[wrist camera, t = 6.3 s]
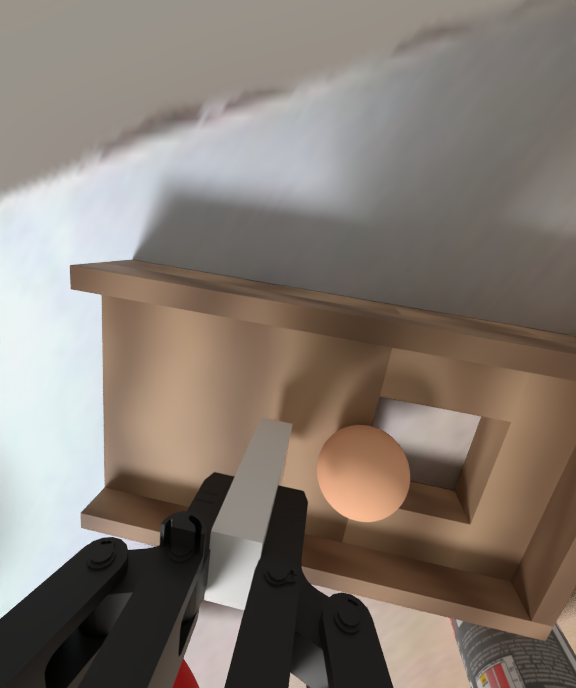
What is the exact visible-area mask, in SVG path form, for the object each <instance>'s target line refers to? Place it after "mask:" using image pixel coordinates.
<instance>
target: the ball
mask: <svg viewBox="0 0 576 688" xmlns="http://www.w3.org/2000/svg"><path fill="white" fill-rule="evenodd" d="M317 478H318V482H319V486H320V489H321V491H322V493H323V495H324V497H325V499H326V500H327V501H328V503H329V504H330V505H331V506H332V507H333V508H334V509H335V510H336V511H337V512H338V513H340V514H342V515H343V516H345V517H347V518H349V519H352V520H355V521H360V522H374V521H379V520H382V519H384V518H386V517H388V516H390V515H391V514H393V513H394V512H395V511H396V510H397V509H398V508H399V507H400V506H401V505H402V503H403V502H404V500H405V498H406V496H407V493H408V490H409V485H410V469H409V464H408V461H407V458H406V456H405V453H404V452H403V450H402V448H401V447H400V445H399V444H398V443H397V442H396V441H395V440H394V439H393V438H392V437H391V436H390V435H389V434H387V433H386V432H384V431H382V430H380V429H378V428H375V427H372V426H368V425H352V426H348V427H345V428H343V429H340V430H339V431H337V432H335V433H334V434H333V435H332V436H331V437H330V438H329V439H328V440H327V441H326V442H325V444H324V445H323V447H322V449H321V451H320V454H319V457H318V462H317Z"/></svg>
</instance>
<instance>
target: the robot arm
mask: <svg viewBox="0 0 576 688" xmlns="http://www.w3.org/2000/svg"><path fill="white" fill-rule="evenodd" d="M291 429H292V424H291V423H286V422H281V421H276V420H271V419H267V418H262V417H261V418H260V420H259V423H258V425H257V427H256V429H255V432H254V434H253V436H252V439H251V441H250V443H249V445H248V448H247V450H246V452H245V455H244V457H243V459H242V461H241V464H240V466H239V468H238V471H237V473H236V475H235V476H230V475H226V474H221V473H217V472H214V473H212V474H211V475H210V476H209V477H207V478H206V479H205V480H204V481H203V483H202V485H201V487H200V488H199V491H198V492H197V494H196V496H195V497H194V500H193V501H192V503H191V505H190V506H189V508H188V510H187V511H181V512H177V513H174V514H172V515H170V516H168V517H167V518H166V519H165V520H164V521H163V522H162V523H161V525H160V545H158V546H156V547H153V548H147V549H135V550H128V549H127V545H126V544H125V543H124V542H123V541H122V540H121V539H118V538H114V537H108V538H101V539H98V540H95V541H93V542H91V543H90V544H88V545H87V546H85V547H84V548H83V549H82V550H80V551H79V552H78V553H77V554H76V555H75V556H73V557H72V558H71V559H70V560H69V561H67V562H66V563H65V564H64V565H63V566H62V567H60V568H59V569H58V570H57V571H56V572H55V573H53V574H52V575H51V576H50V577H49V578H48V579H46V580H45V581H44V582H43V583H42V584H41V585H39V586H38V587H37V588H36V589H35V590H34V591H32V592H31V593H30V594H29V595H28V596H27V597H25V598H24V599H23V600H22V601H21V602H19V603H18V604H17V605H16V606H15V607H14V608H12V609H11V610H10V611H9V612H8V613H7V614H5V615H4V616H3V617H2V618H1V619H0V688H172V687H173V685H174V682H175V679H176V677H177V674H178V671H179V668H180V666H181V663H182V660H183V658H184V655H185V652H186V649H187V647H188V644H189V641H190V639H191V636H192V633H193V630H194V628H195V625H196V622H197V619H198V613H199V605H200V603H201V600H202V597H203V595H204V592H205V597H204V600H206V601H210V602H214V603H218V604H222V605H225V606H229V607H233V608H237V609H241V610H244V613H243V617H242V621H241V625H240V629H239V633H238V637H237V641H236V645H235V649H234V652H233V656H232V660H231V664H230V668H229V672H228V676H227V680H226V684H225V687H224V688H288V687H289V678H290V672H291V673H292V674H293V675H295V676H296V677H297V678H299V679H300V680H301V681H303V682H304V683H305V684H306V687H307V688H393V685H392V681H391V678H390V675H389V672H388V668H387V665H386V662H385V658H384V655H383V652H382V649H381V645H380V642H379V639H378V636H377V632H376V629H375V626H374V622H373V619H372V617H371V615H370V613H369V610H368V608H367V607H366V606H365V605H364V604H363V603H362V602H361V601H360V600H359V599H358V598H356V597H354V596H353V595H351V594H346V593H337V594H333V595H332V596H330V597H328V596H326V595H325V594H323V593H322V592H320V591H318V590H317V589H316V588H314V587H313V586H312V585H311V584H310V583H309V582H308V580H307V579H306V577H305V575H304V573H303V570H302V561H301V560H302V552H303V543H304V534H305V526H306V517H307V508H308V500H307V498H306V495H305V492H304V491H302V490H298V489H293V488H289V487H284V486H281V484H282V480H283V475H284V470H285V465H286V459H287V453H288V447H289V441H290V435H291Z"/></svg>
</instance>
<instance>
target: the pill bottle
mask: <svg viewBox="0 0 576 688" xmlns="http://www.w3.org/2000/svg"><path fill="white" fill-rule="evenodd" d="M450 621H451V625H452V628H453V631H454V635H455V638H456V641H457V644H458V647H459V651H460V654H461V657H462V660H463V664H464V667H465V670H466V673H467V677H468V680H469V683H470V687H471V688H576V655H575V653H574V651H573V650H572V648H571V646H570V645H569V643H568V641H567V639H566V638H565V636H564V634H563V632H562V631H561V629H560V627H559V625H558V624H557V622H556V623H555V625H554V627H553V628H552V630H551V632H550V634H549V636H548V637H547V639H546V641H543V640H539V639H534V638H530V637H526V636H522V635H518V634H514V633H510V632H506V631H502V630H498V629H494V628H489V627H485V626H481V625H477V624H473V623H469V622H465V621H461V620H457V619H453V618H450Z"/></svg>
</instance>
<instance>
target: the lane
mask: <svg viewBox="0 0 576 688" xmlns="http://www.w3.org/2000/svg"><path fill="white" fill-rule="evenodd" d="M70 280H71V289H73V290H79V291H84V292H90V293H95V294H101V295H102V342H103V405H104V468H105V488H104V489H103V490H102V491H101V492H100V493H99V494H98V495H97V496H96V497H95V498H94V499H93V500H92V502H91V503H90V504H89V505H88V506H87V507H86V508H85V509H84V510H83V511H82V512H81V528H84V529H88V530H92V531H96V532H100V533H104V534H109V535H113V536H117V537H121V538H125V539H129V540H133V541H137V542H141V543H145V544H149V545H154V546H158V545H160V525H161V523H162V522H163V521H164V520H165V519H166V518H167V517H168V516H170V515H172V514H174V513H177V512H181V511H187V510H188V508H189V506H190V505H191V503H192V501H193V500H194V497H195V496H196V494H197V492H198V491H199V488H200V487H201V485H202V483H203V481H204V480H205V479H206V478H207V477H209V476H210V475H211V474H212V473H214V472H217V473H221V474H226V475H230V476H235V475H236V473H237V471H238V468H239V466H240V464H241V461H242V459H243V457H244V455H245V452H246V450H247V448H248V445H249V443H250V441H251V439H252V436H253V434H254V432H255V429H256V427H257V425H258V423H259V420H260V418H261V417H262V418H267V419H271V420H276V421H281V422H286V423H291V424H292V429H291V435H290V441H289V447H288V453H287V459H286V465H285V470H284V475H283V480H282V484H281V486H284V487H289V488H293V489H298V490H302V491H304V492H305V495H306V498H307V500H308V508H307V517H306V526H305V534H304V543H303V552H302V560H301V561H302V570H303V573H304V575H305V577H306V579H307V580H308V582H309V583H310V584H313V585H317V586H321V587H326V588H330V589H334V590H338V591H342V592H346V593H350V594H354V595H358V596H362V597H367V598H371V599H375V600H379V601H383V602H387V603H391V604H395V605H399V606H403V607H407V608H412V609H416V610H420V611H424V612H428V613H432V614H436V615H440V616H444V617H448V618H453V619H457V620H461V621H465V622H469V623H473V624H477V625H481V626H485V627H489V628H494V629H498V630H502V631H506V632H510V633H514V634H518V635H522V636H526V637H530V638H534V639H539V640H543V641H546V639H547V637H548V636H549V634H550V632H551V630H552V628H553V627H554V625H555V623H556V621H557V619H558V618H559V616H560V614H561V612H562V610H563V609H564V607H565V605H566V603H567V601H568V600H569V598H570V596H571V594H572V592H573V591H574V589H575V587H576V336H573V335H567V334H561V333H555V332H549V331H543V330H538V329H532V328H526V327H520V326H514V325H509V324H503V323H497V322H491V321H485V320H479V319H474V318H468V317H462V316H456V315H450V314H444V313H439V312H433V311H427V310H421V309H415V308H410V307H404V306H398V305H392V304H386V303H380V302H375V301H369V300H363V299H357V298H351V297H345V296H340V295H334V294H328V293H322V292H316V291H311V290H305V289H299V288H293V287H287V286H281V285H276V284H270V283H264V282H258V281H252V280H247V279H241V278H235V277H229V276H223V275H217V274H212V273H206V272H200V271H194V270H188V269H182V268H177V267H171V266H165V265H159V264H153V263H148V262H142V261H136V260H123V261H112V262H101V263H89V264H78V265H70ZM380 397H385V398H390V399H395V400H400V401H405V402H411V403H416V404H421V405H426V406H431V407H436V408H441V409H447V410H452V411H457V412H462V413H467V414H472V415H477V416H482V417H481V420H480V422H479V425H478V428H477V430H476V433H475V436H474V439H473V441H472V444H471V447H470V450H469V452H468V455H467V458H466V461H465V463H464V466H463V469H462V471H461V474H460V477H459V480H458V482H457V485H456V488H455V491H453V490H449V489H444V488H439V487H435V486H430V485H425V484H420V483H416V482H411V481H410V485H409V490H408V493H407V496H406V498H405V500H404V502H403V503H402V505H401V506H400V507H399V508H398V509H397V510H396V511H395V512H394V513H393V514H391V515H390V516H388V517H386V518H384V519H382V520H379V521H374V522H360V521H355V520H352V519H349V518H347V517H345V516H343V515H342V514H340V513H338V512H337V511H336V510H335V509H334V508H333V507H332V506H331V505H330V504H329V503H328V501H327V500H326V499H325V497H324V495H323V493H322V491H321V489H320V486H319V482H318V478H317V462H318V457H319V454H320V451H321V449H322V447H323V445H324V444H325V442H326V441H327V440H328V439H329V438H330V437H331V436H332V435H333V434H334V433H335V432H337V431H339V430H340V429H343V428H345V427H348V426H352V425H368V426H372V425H373V421H374V417H375V413H376V409H377V406H378V402H379V398H380Z"/></svg>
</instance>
